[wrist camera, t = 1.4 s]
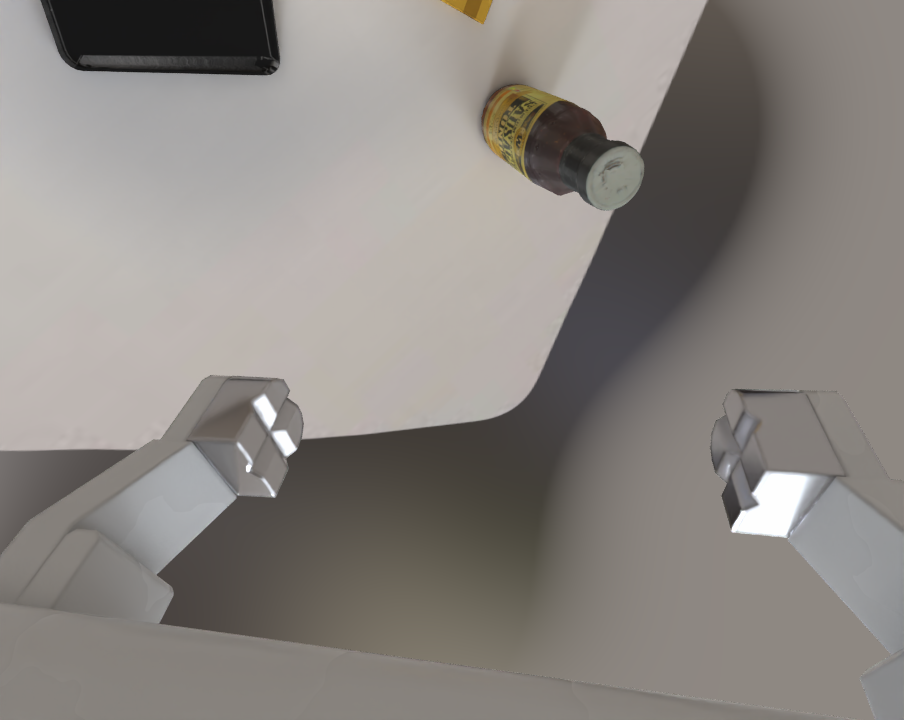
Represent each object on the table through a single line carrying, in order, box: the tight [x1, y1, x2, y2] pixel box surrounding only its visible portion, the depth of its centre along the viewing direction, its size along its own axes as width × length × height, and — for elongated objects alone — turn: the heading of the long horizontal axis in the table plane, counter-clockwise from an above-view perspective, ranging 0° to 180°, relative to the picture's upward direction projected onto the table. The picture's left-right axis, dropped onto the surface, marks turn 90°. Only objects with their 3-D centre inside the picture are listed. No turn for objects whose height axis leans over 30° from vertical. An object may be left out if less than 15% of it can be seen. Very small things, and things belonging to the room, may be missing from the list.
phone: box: [41, 0, 280, 75], centre depth 35 cm, size 8×1×15 cm
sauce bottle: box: [482, 84, 644, 210], centre depth 38 cm, size 7×6×20 cm
